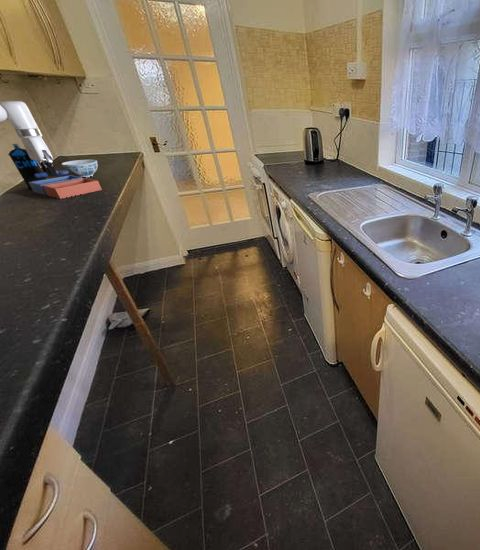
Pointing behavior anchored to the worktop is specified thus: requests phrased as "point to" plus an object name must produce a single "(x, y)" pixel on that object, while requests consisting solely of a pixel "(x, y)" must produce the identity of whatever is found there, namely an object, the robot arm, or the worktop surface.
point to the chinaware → (81, 167)
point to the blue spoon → (44, 174)
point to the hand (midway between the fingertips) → (51, 175)
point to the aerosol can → (25, 165)
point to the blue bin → (39, 188)
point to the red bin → (72, 188)
